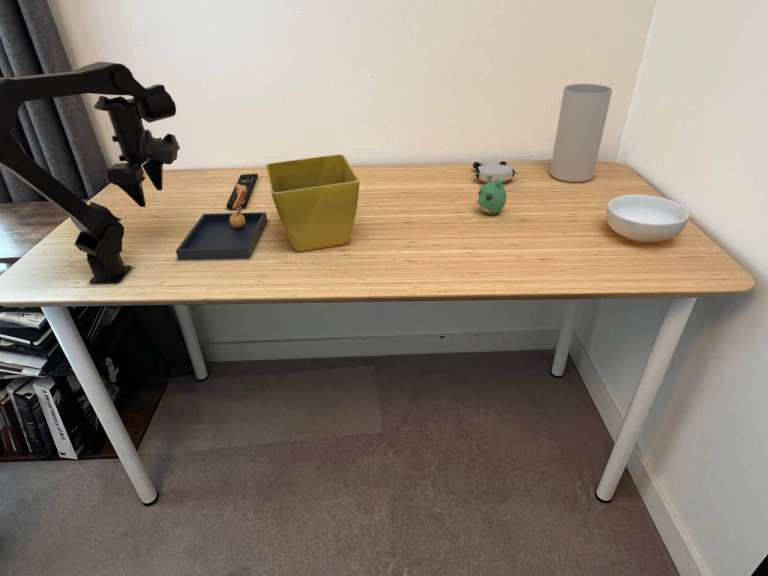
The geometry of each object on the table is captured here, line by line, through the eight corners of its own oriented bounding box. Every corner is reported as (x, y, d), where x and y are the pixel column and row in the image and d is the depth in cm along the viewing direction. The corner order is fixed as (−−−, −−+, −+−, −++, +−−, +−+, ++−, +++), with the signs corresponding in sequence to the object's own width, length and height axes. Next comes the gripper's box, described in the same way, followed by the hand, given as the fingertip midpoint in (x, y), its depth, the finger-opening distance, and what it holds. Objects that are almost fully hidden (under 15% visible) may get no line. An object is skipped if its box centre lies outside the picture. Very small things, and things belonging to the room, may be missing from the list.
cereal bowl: (640, 214, 122) (647, 188, 118) (696, 243, 109) (707, 215, 105) (586, 227, 117) (592, 200, 113) (638, 259, 104) (647, 230, 100)
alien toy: (469, 211, 127) (472, 175, 121) (493, 205, 130) (496, 169, 124) (486, 221, 122) (489, 184, 116) (510, 215, 124) (514, 178, 119)
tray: (249, 258, 110) (247, 249, 109) (178, 260, 110) (175, 250, 109) (267, 220, 126) (266, 212, 125) (205, 222, 127) (203, 213, 125)
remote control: (258, 177, 152) (257, 173, 152) (246, 209, 133) (245, 204, 132) (241, 178, 152) (240, 174, 151) (226, 210, 132) (225, 206, 132)
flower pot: (283, 262, 108) (271, 192, 99) (276, 226, 123) (265, 162, 114) (364, 248, 112) (360, 180, 103) (348, 215, 127) (343, 153, 118)
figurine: (236, 220, 126) (226, 177, 119) (258, 220, 125) (250, 176, 119) (226, 235, 119) (215, 190, 112) (250, 235, 118) (240, 189, 112)
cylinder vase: (541, 171, 149) (554, 86, 135) (575, 166, 152) (592, 82, 138) (565, 185, 139) (582, 95, 125) (601, 179, 142) (622, 90, 128)
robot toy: (468, 172, 153) (475, 186, 140) (469, 158, 151) (476, 171, 138) (506, 171, 152) (517, 185, 139) (508, 157, 150) (519, 170, 137)
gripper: (148, 140, 91) (171, 215, 100) (183, 115, 107) (200, 181, 116) (91, 142, 92) (119, 216, 100) (134, 116, 107) (155, 182, 116)
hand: (151, 198), depth 108 cm, fingers open, 9 cm apart
